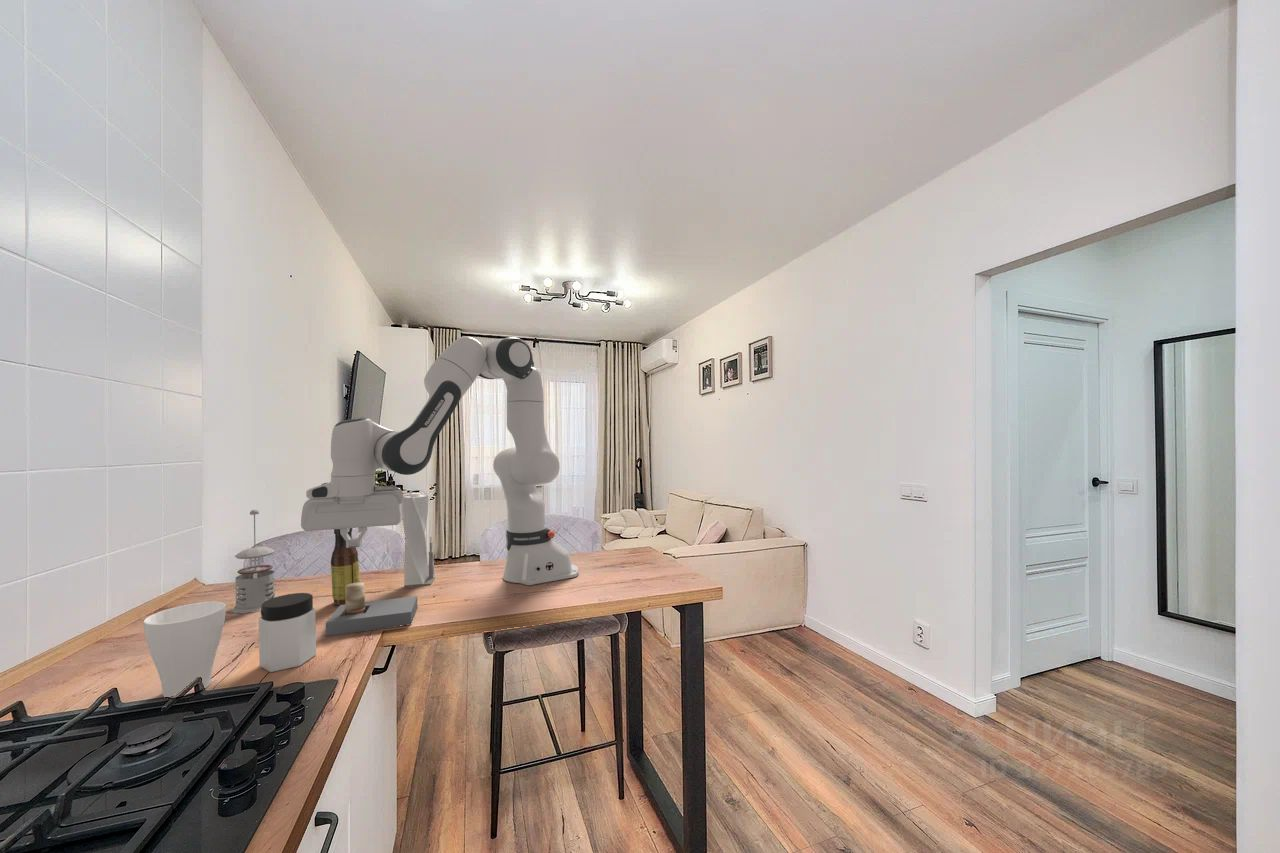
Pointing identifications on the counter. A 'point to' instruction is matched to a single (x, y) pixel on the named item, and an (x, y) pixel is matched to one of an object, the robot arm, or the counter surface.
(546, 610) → the counter surface
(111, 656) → the counter surface
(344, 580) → the sauce bottle
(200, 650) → the cup
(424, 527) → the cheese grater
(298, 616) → the jar
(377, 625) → the board
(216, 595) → the counter surface
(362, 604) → the peg
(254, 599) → the french press
